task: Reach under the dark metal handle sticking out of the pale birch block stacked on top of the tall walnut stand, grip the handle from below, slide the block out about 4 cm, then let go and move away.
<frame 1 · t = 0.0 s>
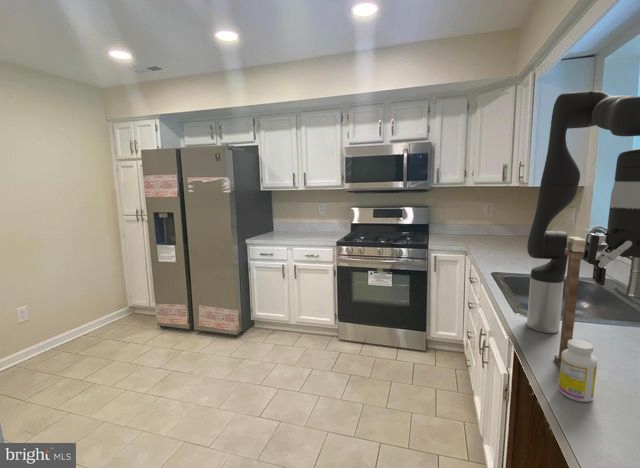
hand: (625, 285, 67), 29 cm above the worktop, tool pointing down, fingers open, 8 cm apart
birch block: (594, 244, 85), point 34 cm above the worktop, slide at 0.0 cm
walnut stand: (563, 365, 91), on the worktop
supplement bottle: (574, 394, 80), on the worktop
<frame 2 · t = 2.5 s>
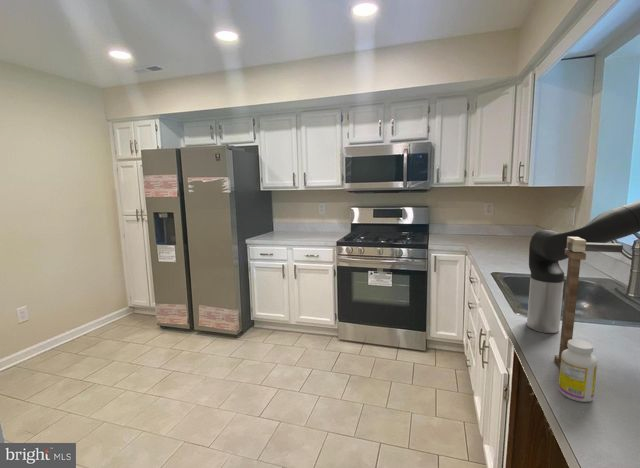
nothing on the worktop moved.
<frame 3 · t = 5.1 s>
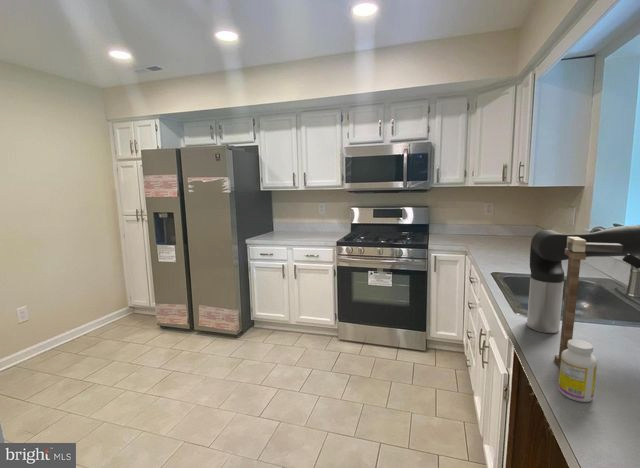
hand: (634, 260, 83), 30 cm above the worktop, tool pointing upward, fingers open, 8 cm apart
nothing on the worktop moved.
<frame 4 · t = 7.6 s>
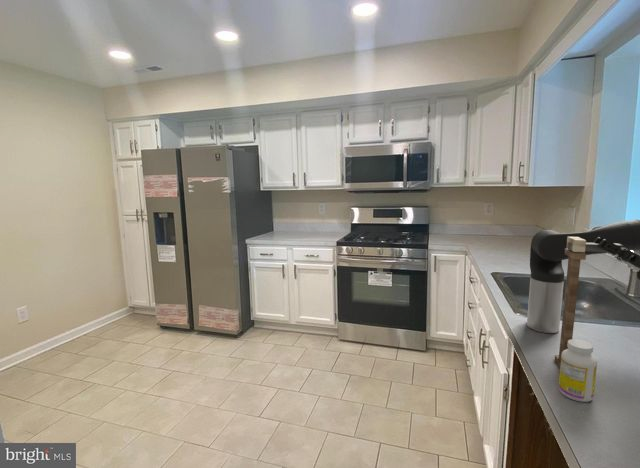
hand: (598, 241, 84), 35 cm above the worktop, tool pointing upward, fingers closed on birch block, 2 cm apart
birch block: (594, 244, 85), point 34 cm above the worktop, slide at 0.0 cm, touching gripper
everything else where it was.
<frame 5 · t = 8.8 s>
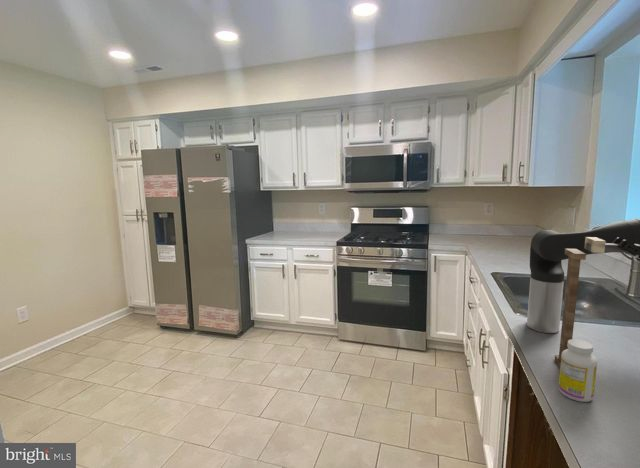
hand: (618, 242, 83), 35 cm above the worktop, tool pointing upward, fingers closed on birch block, 2 cm apart
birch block: (614, 245, 83), point 34 cm above the worktop, slide at 4.0 cm, touching gripper
everything else where it was.
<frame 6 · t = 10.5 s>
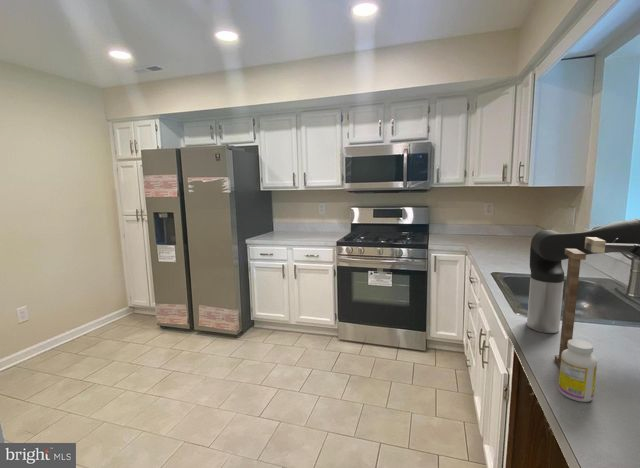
hand: (622, 244, 83), 34 cm above the worktop, tool pointing upward, fingers open, 8 cm apart
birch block: (614, 245, 83), point 34 cm above the worktop, slide at 4.0 cm
everything else where it was.
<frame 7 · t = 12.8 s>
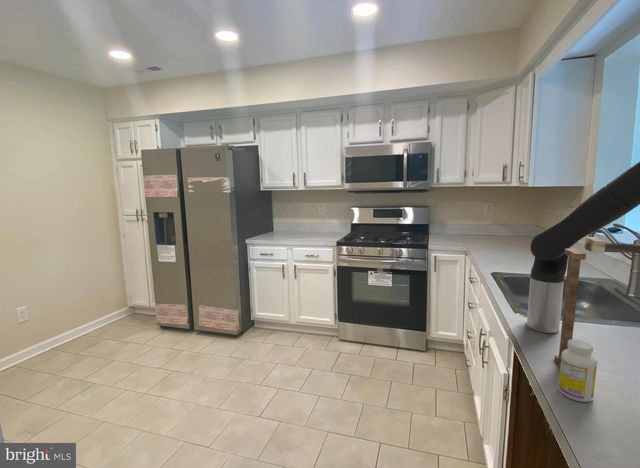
nothing on the worktop moved.
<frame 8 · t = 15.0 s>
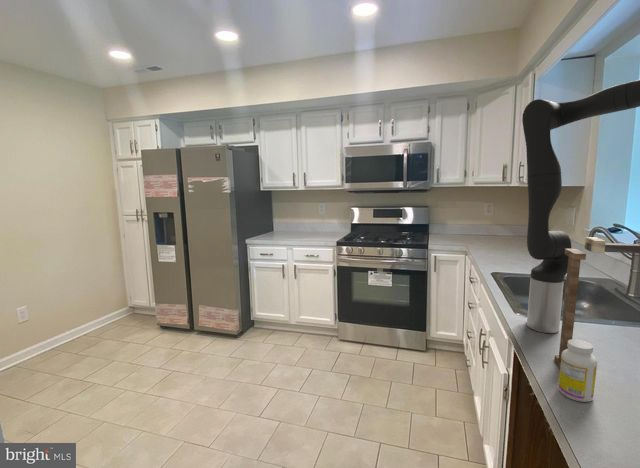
nothing on the worktop moved.
at the end: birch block slide at 4.0 cm; the gripper is holding nothing; supplement bottle moved 0.2 cm from its start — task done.
